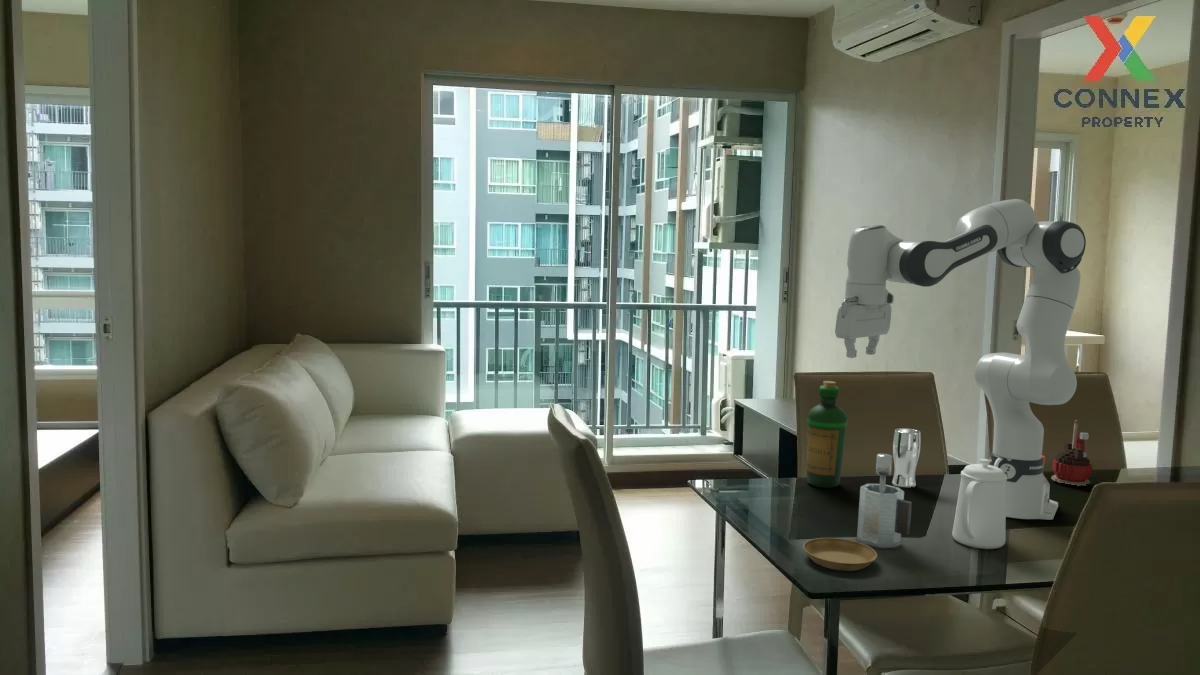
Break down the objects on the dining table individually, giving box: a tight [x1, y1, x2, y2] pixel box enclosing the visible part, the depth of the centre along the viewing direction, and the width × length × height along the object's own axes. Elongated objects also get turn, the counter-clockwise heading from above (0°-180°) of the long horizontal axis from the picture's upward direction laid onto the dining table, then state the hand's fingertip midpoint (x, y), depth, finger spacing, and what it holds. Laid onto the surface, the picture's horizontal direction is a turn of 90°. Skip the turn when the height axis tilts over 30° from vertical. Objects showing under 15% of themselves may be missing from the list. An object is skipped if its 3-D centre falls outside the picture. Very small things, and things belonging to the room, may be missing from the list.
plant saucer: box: [802, 537, 878, 572], centre depth 184 cm, size 15×15×3 cm
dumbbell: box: [875, 453, 893, 493], centre depth 194 cm, size 5×5×17 cm
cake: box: [1050, 419, 1093, 487], centre depth 250 cm, size 11×9×18 cm
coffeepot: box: [951, 458, 1007, 550], centre depth 197 cm, size 11×25×19 cm, turn 141°
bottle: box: [806, 380, 849, 489], centre depth 240 cm, size 11×11×28 cm
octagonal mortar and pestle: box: [856, 483, 913, 551], centre depth 194 cm, size 9×11×12 cm
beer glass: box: [891, 427, 921, 489], centre depth 243 cm, size 7×7×15 cm
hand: (861, 355), depth 207 cm, fingers open, 8 cm apart
